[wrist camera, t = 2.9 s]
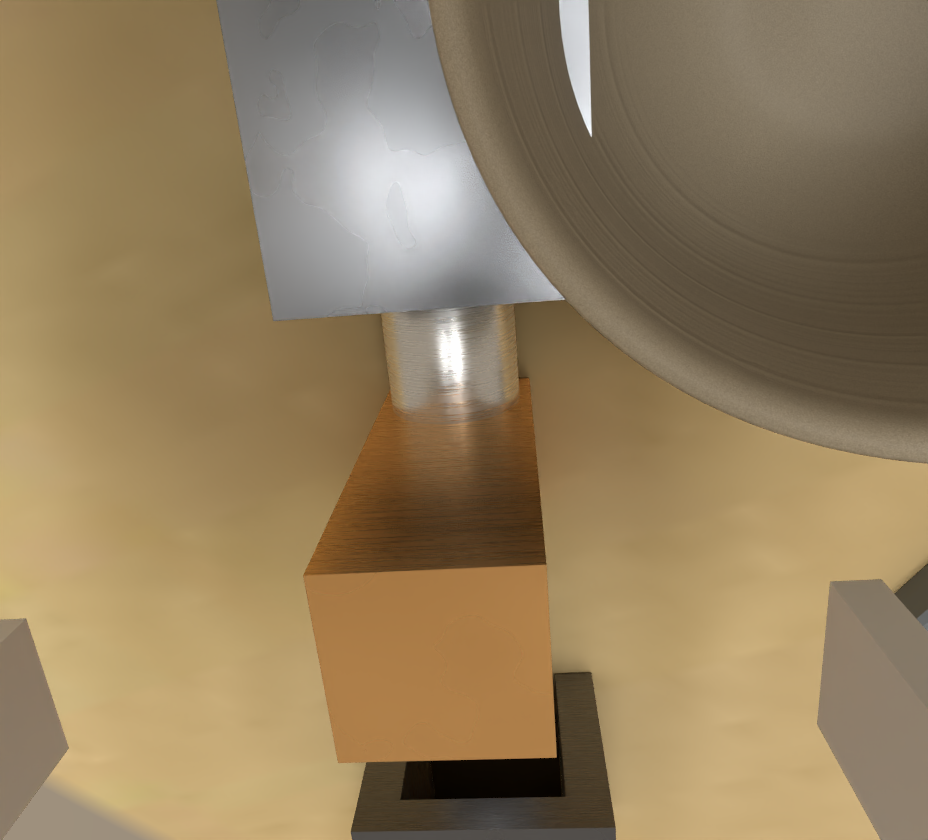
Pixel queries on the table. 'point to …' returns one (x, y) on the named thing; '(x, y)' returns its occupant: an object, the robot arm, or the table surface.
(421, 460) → the orange and grey piece
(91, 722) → the table surface
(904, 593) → the bracket
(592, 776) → the socket
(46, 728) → the robot arm
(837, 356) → the planter
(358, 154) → the grey block
